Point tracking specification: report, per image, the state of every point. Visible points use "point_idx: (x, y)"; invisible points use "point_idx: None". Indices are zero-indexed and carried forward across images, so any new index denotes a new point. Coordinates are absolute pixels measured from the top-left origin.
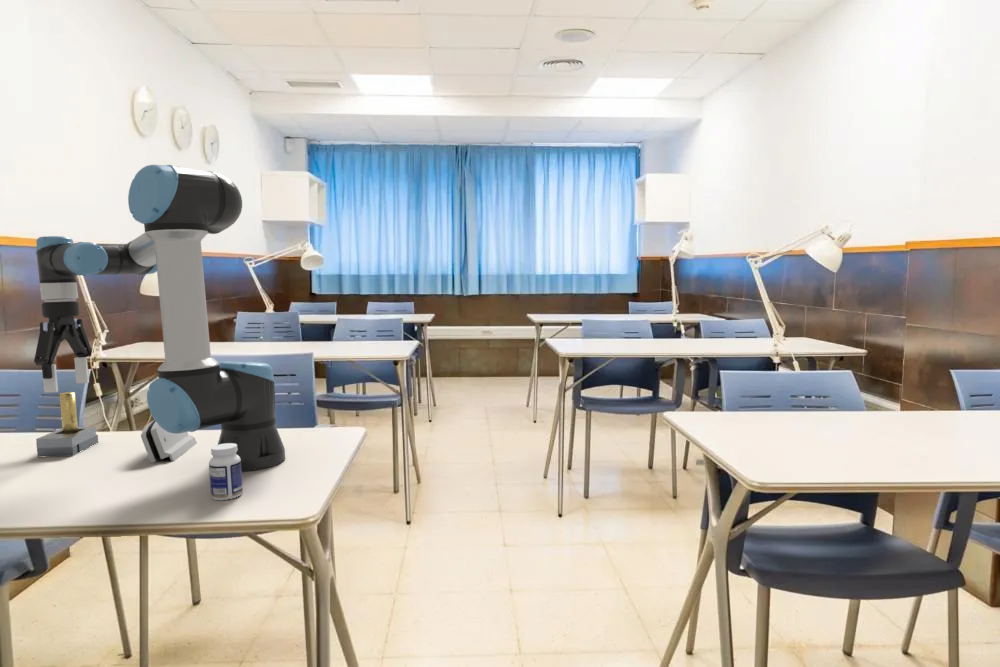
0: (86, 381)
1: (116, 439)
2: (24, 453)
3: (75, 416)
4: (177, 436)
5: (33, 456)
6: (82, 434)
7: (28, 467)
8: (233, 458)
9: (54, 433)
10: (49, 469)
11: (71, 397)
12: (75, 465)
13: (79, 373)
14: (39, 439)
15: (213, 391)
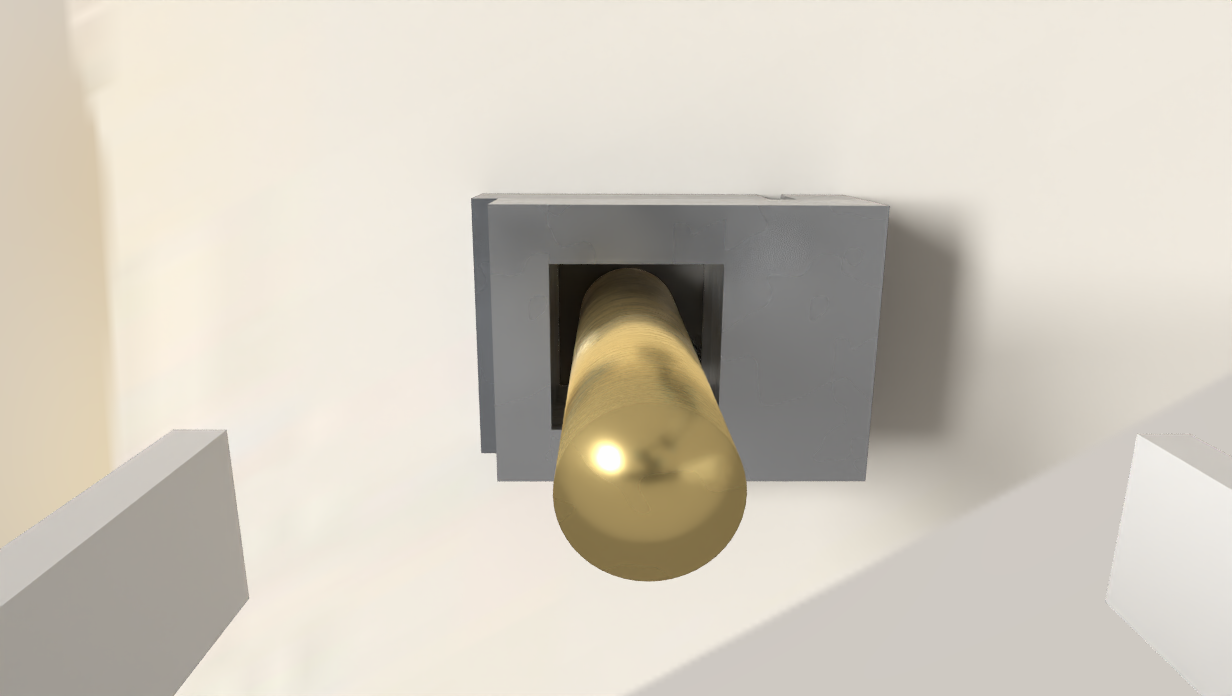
0: (214, 453)
1: (368, 101)
2: (707, 565)
3: (646, 323)
4: None
5: None
6: (714, 204)
7: (1076, 348)
8: None
9: None
10: (1169, 177)
11: (700, 398)
12: (1114, 38)
13: (149, 643)
14: (866, 455)
15: None
